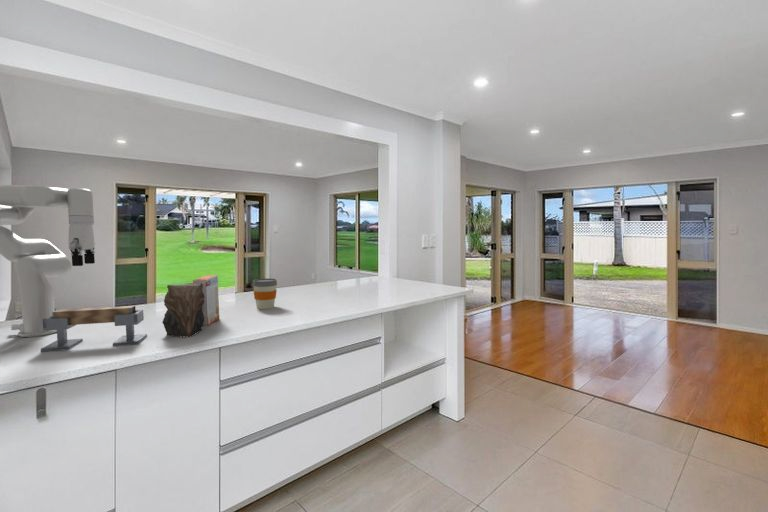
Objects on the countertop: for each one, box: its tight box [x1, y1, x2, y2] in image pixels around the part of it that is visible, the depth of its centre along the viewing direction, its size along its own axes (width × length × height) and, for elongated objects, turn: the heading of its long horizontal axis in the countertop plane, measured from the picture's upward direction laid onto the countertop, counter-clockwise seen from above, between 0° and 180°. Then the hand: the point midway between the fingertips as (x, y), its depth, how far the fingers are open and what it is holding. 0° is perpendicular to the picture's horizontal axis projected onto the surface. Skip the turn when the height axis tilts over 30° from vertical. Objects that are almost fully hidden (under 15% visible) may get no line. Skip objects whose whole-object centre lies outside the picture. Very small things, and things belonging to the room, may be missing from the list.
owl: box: [161, 282, 204, 338], centre depth 149 cm, size 13×13×20 cm
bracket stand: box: [40, 309, 148, 353], centre depth 134 cm, size 29×10×11 cm, turn 108°
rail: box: [52, 305, 137, 326], centre depth 133 cm, size 24×4×5 cm, turn 108°
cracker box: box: [192, 274, 220, 327], centre depth 164 cm, size 14×6×21 cm, turn 5°
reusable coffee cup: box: [252, 278, 278, 310], centre depth 197 cm, size 13×13×15 cm
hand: (83, 264), depth 142 cm, fingers open, 9 cm apart
